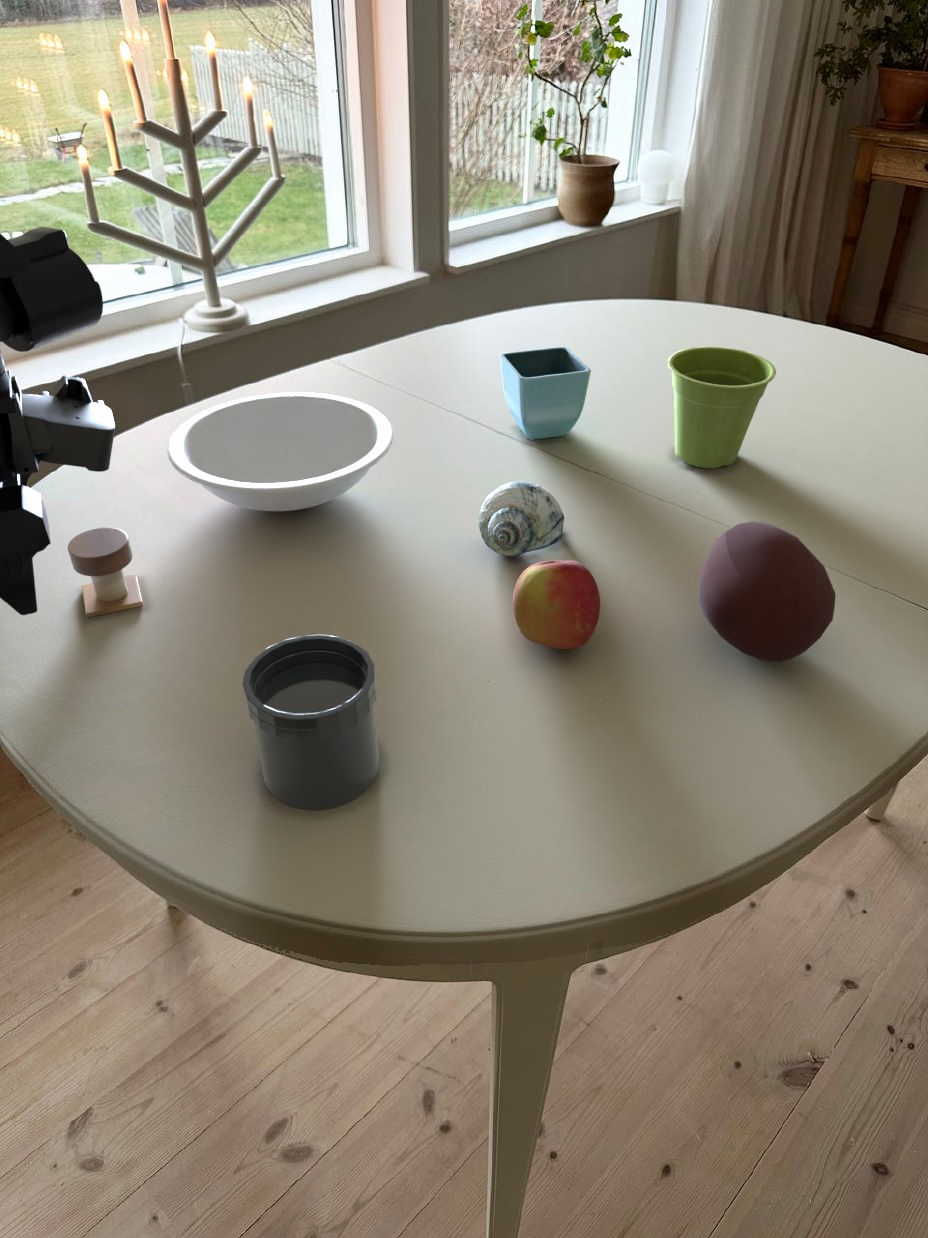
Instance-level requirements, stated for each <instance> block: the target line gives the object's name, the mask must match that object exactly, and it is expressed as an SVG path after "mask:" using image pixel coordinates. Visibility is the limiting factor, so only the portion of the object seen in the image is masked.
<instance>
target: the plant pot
mask: <svg viewBox="0 0 928 1238" xmlns="http://www.w3.org/2000/svg"><path fill="white" fill-rule="evenodd" d="M667 367H668V369H669V370H670V371H671V383H672V388H673V400H674V401H673V408H674V414H673V415H674V454H675V455H676V457H678V458H680V459H681V460H682V461H683V462H684V463H685V464H688V465H689V466H693V467H697V468H703V469H717V468H719V467H722V466H727V467H728V466H731V465H732V464H733V463H735V462H736V460H737V458H738V455H739V452H740V449H741V447H742V445H743V442H744V440H745V437H746V434H747V432H748V429H749V427H750V424H751V422H752V420H753V417H754V415H755V412H756V409H757V407H758V404H759V402H760V400H761V399H762V398H763V396H764V393H765V391H766V389H767V386H768V384H769V383H771V381H773V380H774V379H775V377H776V375H777V370H776V367H775V366H774V364H773V363H772V362H771V361H769V360H768V359H766V358H764V357H763V356H761V355H759V354H755V353H753V352H749V351H746V350H742V349H737V348H731V347H726V346H695V347H689V348H685V349H681V350H678V351H676V352H674V353H672V354H671V356H670V357H668V359H667Z"/></svg>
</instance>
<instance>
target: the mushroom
mask: <svg viewBox="0 0 928 1238" xmlns="http://www.w3.org/2000/svg"><path fill="white" fill-rule="evenodd" d="M67 551H68V555H69V558H70V562H71V565H72V568H73V570H74V571H75V572H76V573H78V574H79V575H81V576H87V577H90V580H91V583H93V586H94V589H95V593H96V596H97V598H98V599H99V600H101V601H107V602H108V601H115V600H118V599H120V598H122V597H124V596H125V595H126V594H127V591H128V589H127V586H126V582H125V578H124V576H125V575H124V572H123V569H125V568H126V567H127V566H128V565H129V564H131V562H132V560H133V551H132V548H131V543H130V540H129V536H128V534H127V532H125V531H123V530H122V529H119V528H115V527H99V528H92V529H89V530H86V531H82V533H81V532H80V533H79V534H77V535H76V536H74V537H73V538H72V539H71V540H70V541H69V542H68V544H67Z"/></svg>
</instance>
